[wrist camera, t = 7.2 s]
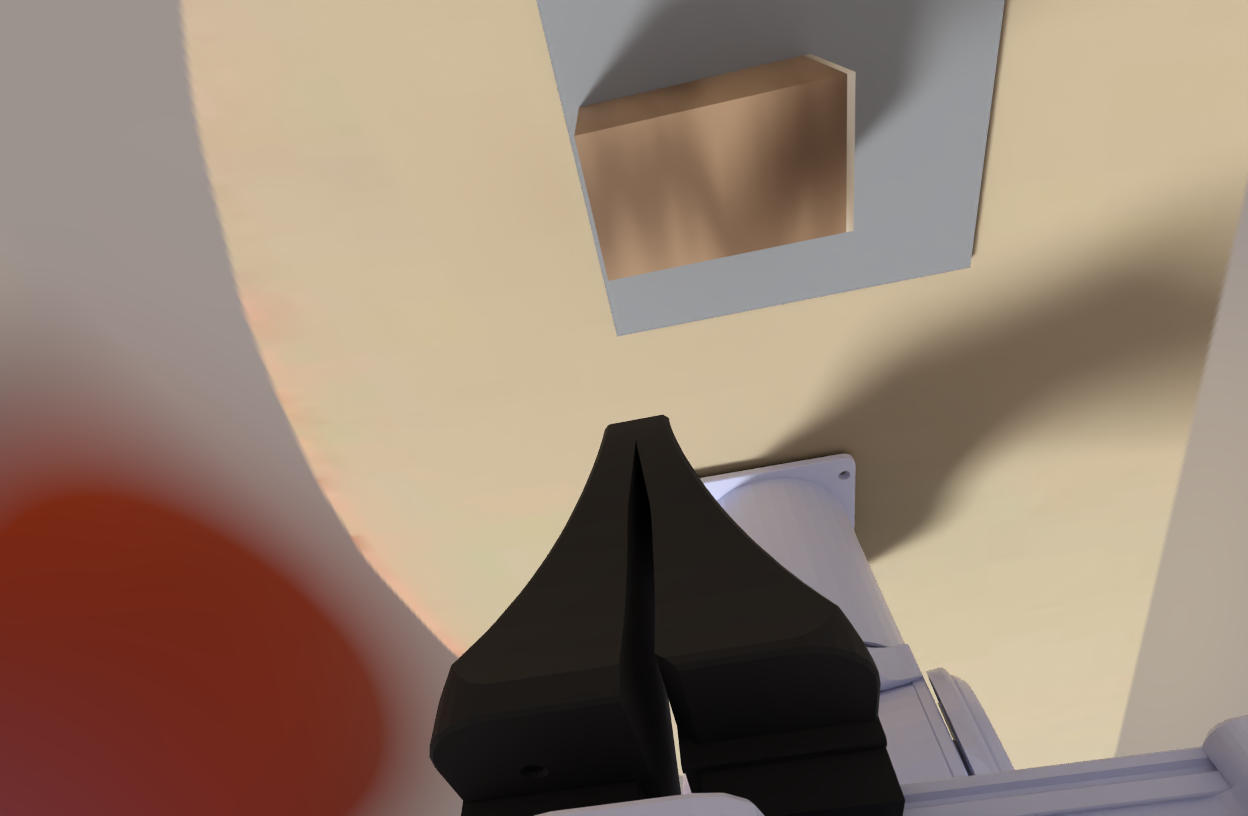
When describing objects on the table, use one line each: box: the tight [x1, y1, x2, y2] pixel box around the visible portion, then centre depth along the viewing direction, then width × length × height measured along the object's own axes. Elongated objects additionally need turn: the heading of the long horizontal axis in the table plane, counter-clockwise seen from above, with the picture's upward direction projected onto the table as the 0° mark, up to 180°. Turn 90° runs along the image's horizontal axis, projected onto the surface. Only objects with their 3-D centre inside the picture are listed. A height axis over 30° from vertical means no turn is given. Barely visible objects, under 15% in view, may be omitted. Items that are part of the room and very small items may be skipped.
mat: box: [537, 0, 1005, 336], centre depth 20 cm, size 11×13×1 cm
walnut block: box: [574, 54, 856, 281], centre depth 18 cm, size 4×4×7 cm
